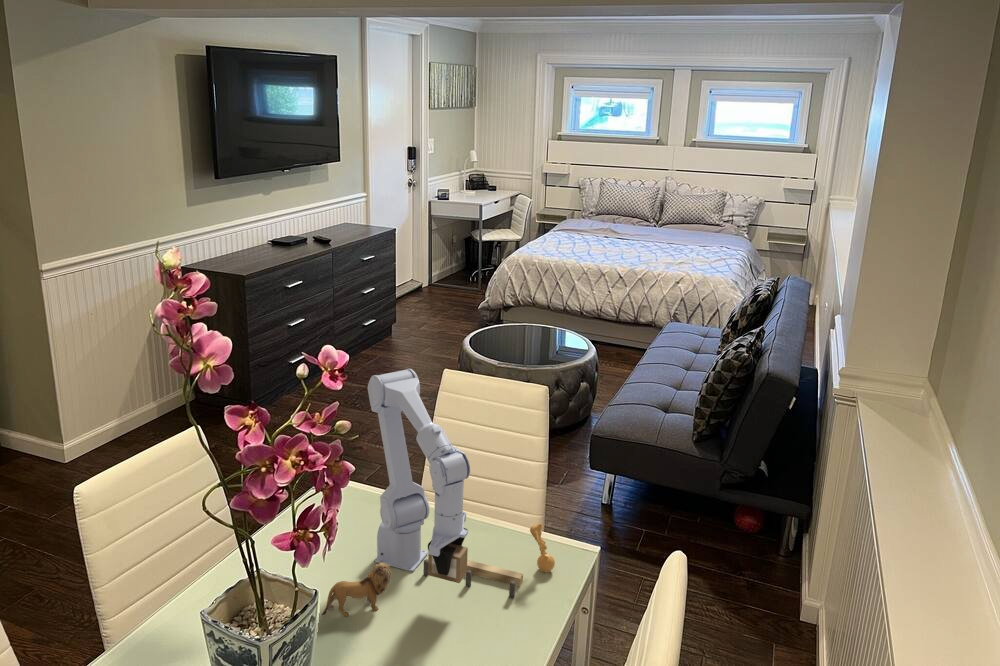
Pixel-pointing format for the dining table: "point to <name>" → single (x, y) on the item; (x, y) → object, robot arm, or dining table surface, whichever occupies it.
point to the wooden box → (451, 565)
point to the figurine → (542, 550)
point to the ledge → (489, 574)
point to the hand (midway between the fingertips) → (447, 567)
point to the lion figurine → (360, 589)
